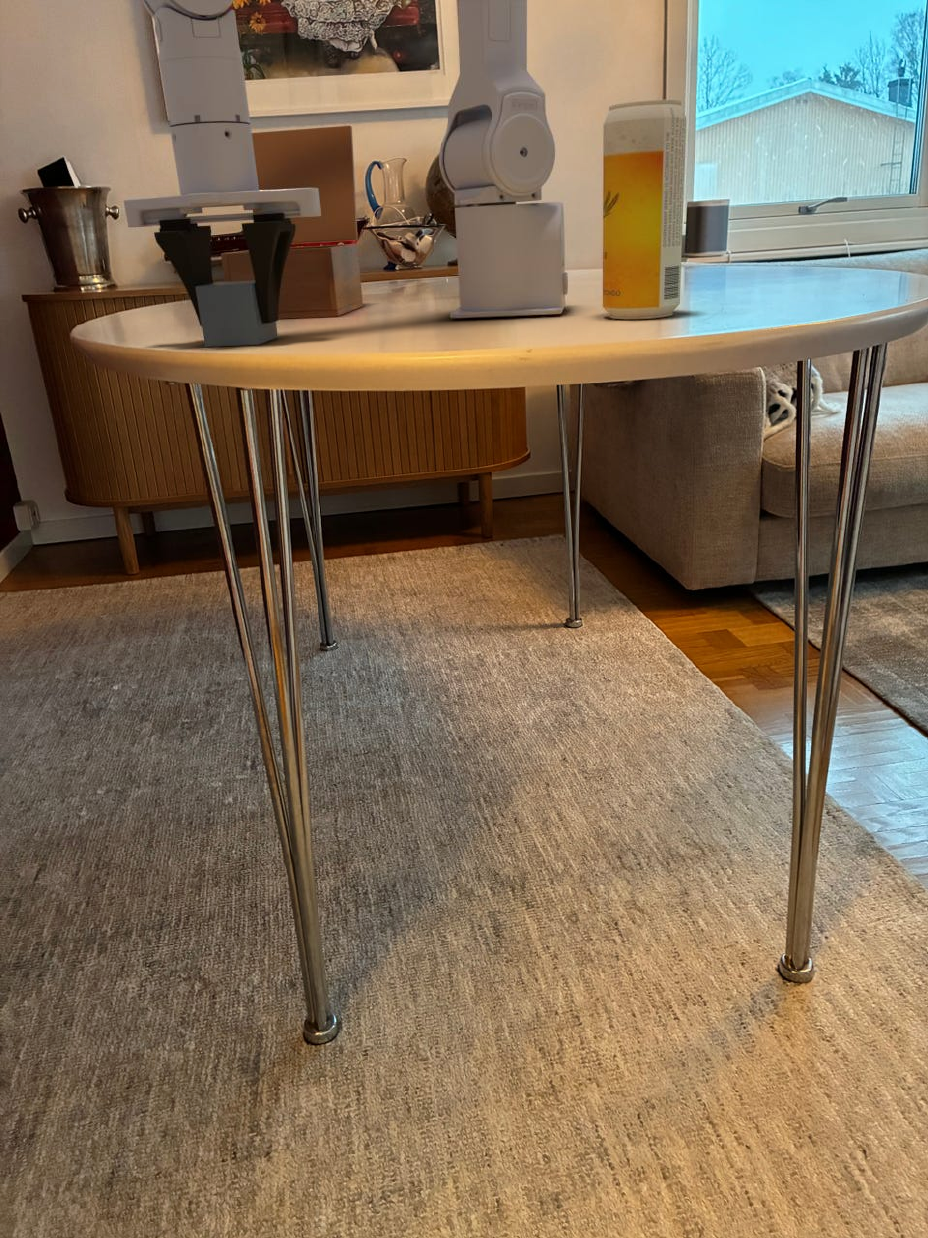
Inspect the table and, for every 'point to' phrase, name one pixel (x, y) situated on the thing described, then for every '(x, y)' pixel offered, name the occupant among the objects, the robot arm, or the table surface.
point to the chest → (309, 280)
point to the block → (232, 315)
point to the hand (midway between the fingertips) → (239, 323)
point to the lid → (312, 177)
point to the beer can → (643, 208)
